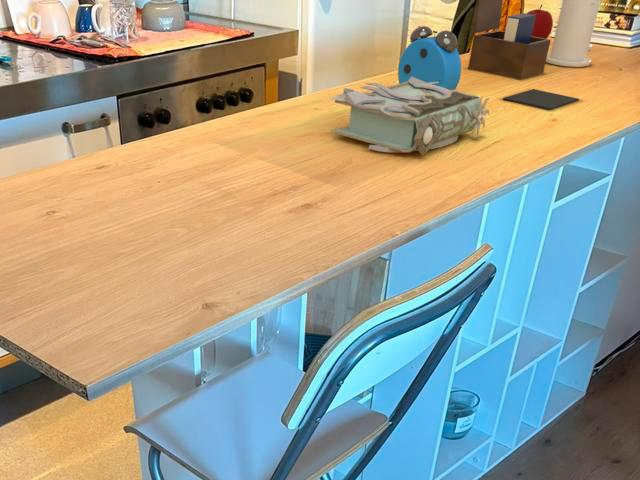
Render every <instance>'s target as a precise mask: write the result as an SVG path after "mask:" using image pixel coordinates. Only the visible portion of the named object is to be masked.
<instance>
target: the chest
mask: <svg viewBox="0 0 640 480" xmlns="http://www.w3.org/2000/svg"><path fill="white" fill-rule="evenodd" d="M504 33H505V30H499V29H496V30H491V31H488V32H487V31H486V32H481V33H476V34H474V35H473V39H472V44H471V50H470V56H469V61H468V67H467V69H468V70H472V71H477V72H481V73H486V74H491V75H496V76H501V77H506V78H511V79H515V80H518V81H519V80H525V79H527V78H531V77H535V76H539V75H543V74H544V72H545V71H544V70H545V67H546V63H547V62H546V58H547V54H549V49H550V44H551V41H552V39H549V38H547V39H544V38H539V37H533V36H532V37H531V41H530V43H529V44H524V43H518V42H513V41H507V40H503V38H504Z"/></svg>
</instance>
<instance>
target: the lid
mask: <svg viewBox="0 0 640 480" xmlns="http://www.w3.org/2000/svg"><path fill="white" fill-rule="evenodd" d="M503 2H504V0H476V3H475V10H474V11H475V12H474V20H473V21H474V22H473V31H472V34H479V33H484V32H487V31H488V32H490V31H495V30H499V29H500V26H501V18H502V9H503Z"/></svg>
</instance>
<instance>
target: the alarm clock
mask: <svg viewBox="0 0 640 480" xmlns="http://www.w3.org/2000/svg"><path fill="white" fill-rule="evenodd" d="M433 34H434V36H432V35H433ZM409 41H410V44H408V46H407V47H405V50H404V51H403V53H402V54H401V57H400V58H399V63H398V71H397V79H398V84H400V83H404V82H407V81H408V80H409V79H410V78H411V76H412V77H414V78H417V79H419V80H421V81H424V82H427V83H430V82H439V83H436V84H432V85H436V86H440V87H443V88H446V89H448V90H457V88H458V85H459V83H460V80H461V74H462V61H461V57H460V56H461V55H460V53H459V51H458V48H457V47H458V38H457V36H456V34H455V33H453V31H450V30H447V29H446V30H444V29H443V30H441V31H439V32H438V31H437V30H432V28H430V27H429V26H426V25H421V26H420V25H418V26H417V27H416V28H415V29H414V30H413V31H412V32H411V34H410V35H409Z"/></svg>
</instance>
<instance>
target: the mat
mask: <svg viewBox="0 0 640 480" xmlns="http://www.w3.org/2000/svg"><path fill="white" fill-rule="evenodd" d="M502 100H503V101H506V102H507V101H508V102H512V103H517V104H521V105H524V106H529V107H534V108H539V109H542V110H548V111H551V110H554V109H557V108H560V107H563V106H566V105H569V104H572V103H575V102H579V101H580V98H578V97H573V96H569V95H563V94H559V93H554V92H550V91H544V90H540V89H535V88H533V89H528V90H525V91H522V92H519V93H515V94H511V95H508V96H505V97H503V98H502Z"/></svg>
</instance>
